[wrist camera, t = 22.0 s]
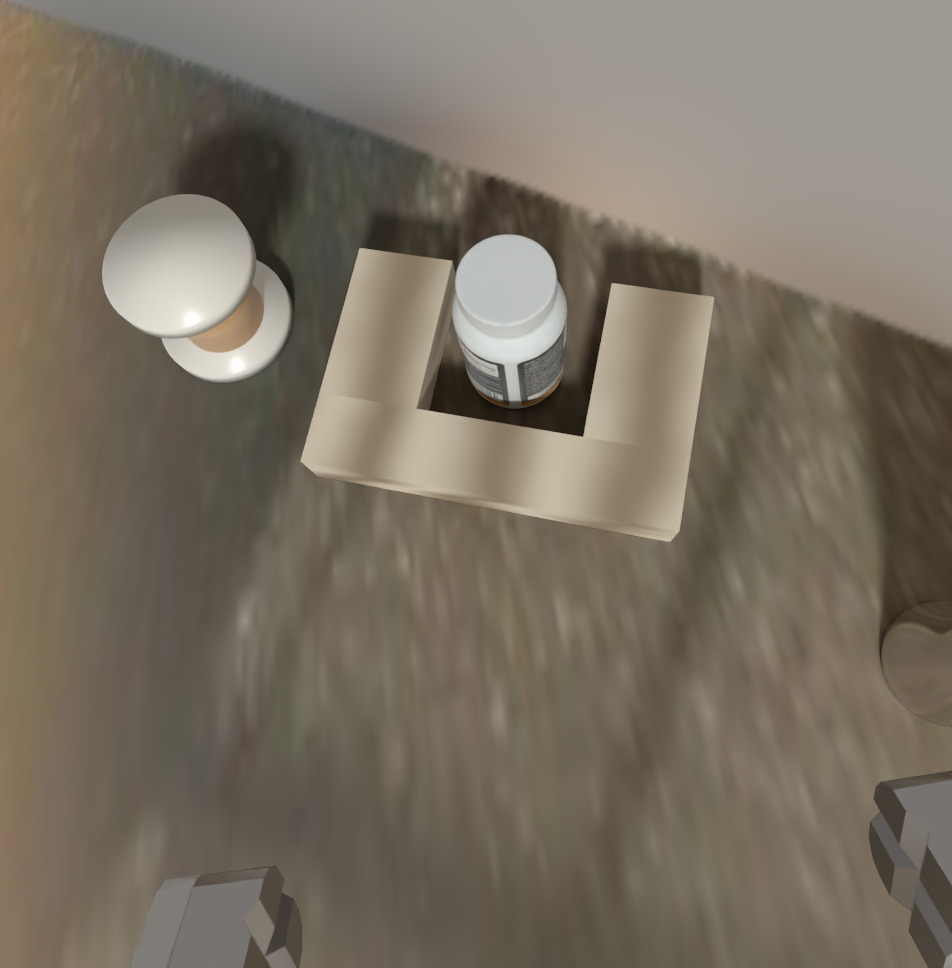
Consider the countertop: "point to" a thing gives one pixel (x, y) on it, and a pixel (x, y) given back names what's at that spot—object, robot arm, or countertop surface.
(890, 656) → the beer glass
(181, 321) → the spool
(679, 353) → the notched board
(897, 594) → the countertop surface
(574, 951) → the countertop surface
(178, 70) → the countertop surface
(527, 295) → the pill bottle
